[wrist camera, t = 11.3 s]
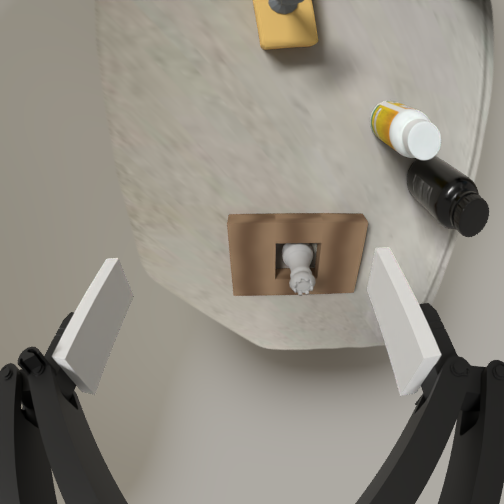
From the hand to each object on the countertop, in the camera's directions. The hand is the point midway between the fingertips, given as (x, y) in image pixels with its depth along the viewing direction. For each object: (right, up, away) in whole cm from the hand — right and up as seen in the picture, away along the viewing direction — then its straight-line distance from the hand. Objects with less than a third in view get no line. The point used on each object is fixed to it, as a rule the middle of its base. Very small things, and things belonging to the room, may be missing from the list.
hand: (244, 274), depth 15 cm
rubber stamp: (+4, +28, +10) cm, 29 cm away
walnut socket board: (+7, +1, +27) cm, 28 cm away
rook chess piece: (+7, +1, +28) cm, 28 cm away
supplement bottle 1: (+17, +17, +17) cm, 29 cm away
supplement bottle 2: (+24, +11, +20) cm, 34 cm away
